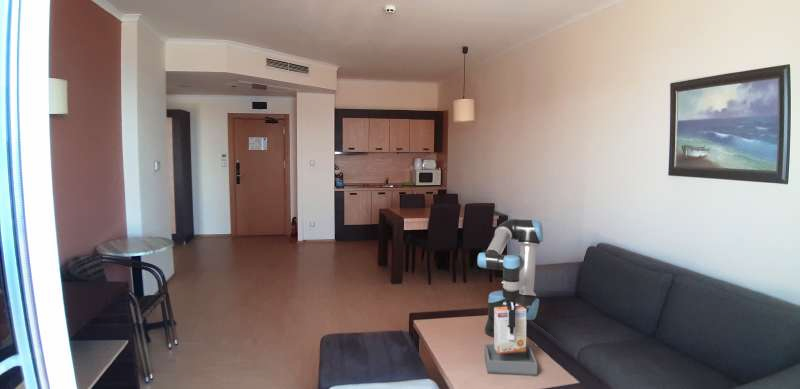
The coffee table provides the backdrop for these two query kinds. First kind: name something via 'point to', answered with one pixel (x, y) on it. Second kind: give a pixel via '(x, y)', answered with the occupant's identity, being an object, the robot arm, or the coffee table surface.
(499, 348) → the cracker box
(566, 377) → the coffee table surface
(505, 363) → the pantry crate
